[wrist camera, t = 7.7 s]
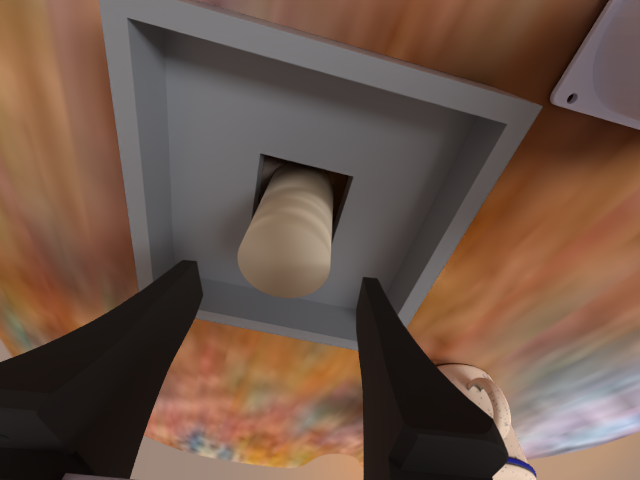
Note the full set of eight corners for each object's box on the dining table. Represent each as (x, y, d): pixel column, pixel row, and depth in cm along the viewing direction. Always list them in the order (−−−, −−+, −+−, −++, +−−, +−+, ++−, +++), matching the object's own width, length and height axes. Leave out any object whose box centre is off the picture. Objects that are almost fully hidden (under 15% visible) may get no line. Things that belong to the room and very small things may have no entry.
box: (493, 87, 17) (543, 106, 13) (381, 306, 27) (388, 356, 23) (161, -10, 15) (95, -24, 11) (173, 262, 25) (141, 307, 21)
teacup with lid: (473, 411, 36) (521, 550, 27) (396, 402, 36) (417, 539, 26) (523, 348, 29) (613, 504, 20) (429, 337, 29) (473, 489, 20)
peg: (335, 162, 20) (333, 228, 13) (331, 220, 22) (327, 300, 16) (268, 158, 20) (232, 221, 13) (271, 216, 22) (242, 294, 16)
